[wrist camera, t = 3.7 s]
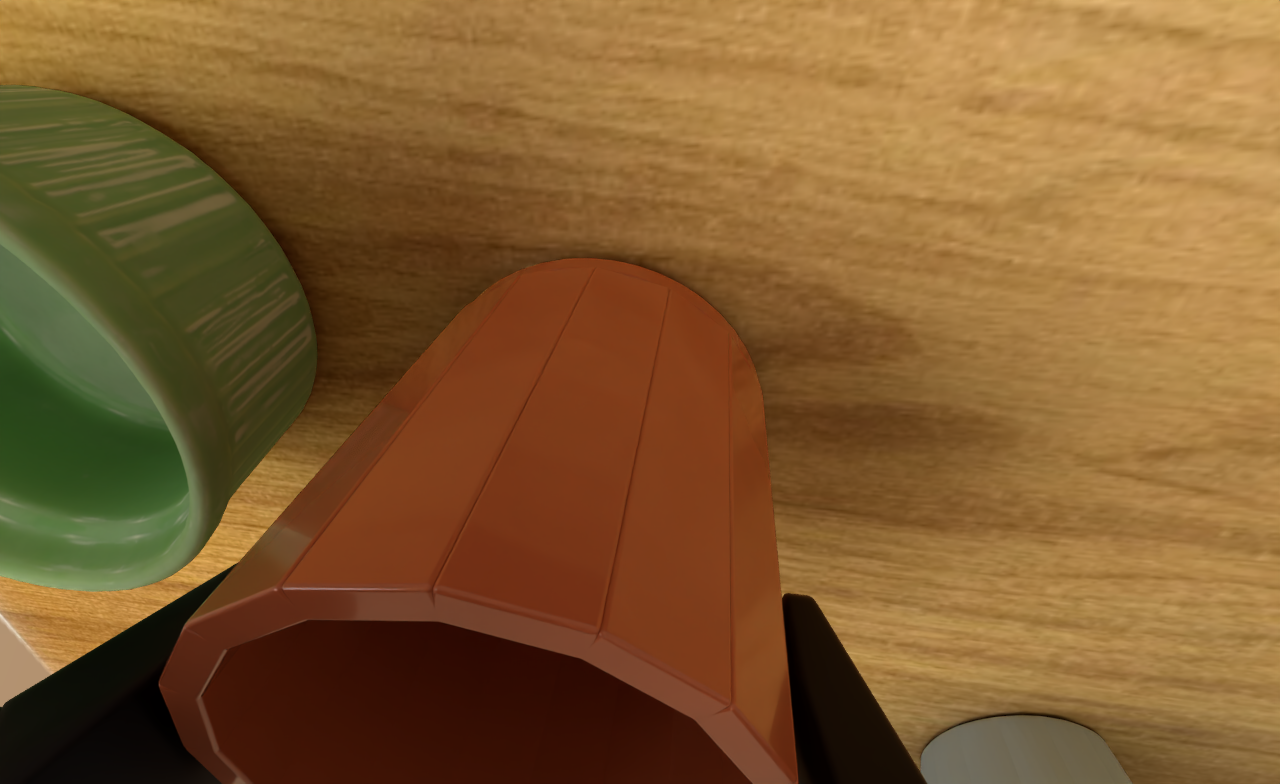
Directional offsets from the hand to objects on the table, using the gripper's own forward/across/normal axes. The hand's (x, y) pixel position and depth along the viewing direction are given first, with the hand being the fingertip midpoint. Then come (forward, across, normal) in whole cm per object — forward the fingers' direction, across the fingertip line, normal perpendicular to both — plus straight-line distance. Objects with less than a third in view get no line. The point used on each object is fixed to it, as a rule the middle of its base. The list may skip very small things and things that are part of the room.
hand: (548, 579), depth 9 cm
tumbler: (+4, 0, 0) cm, 4 cm away
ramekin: (+5, +10, -2) cm, 11 cm away
